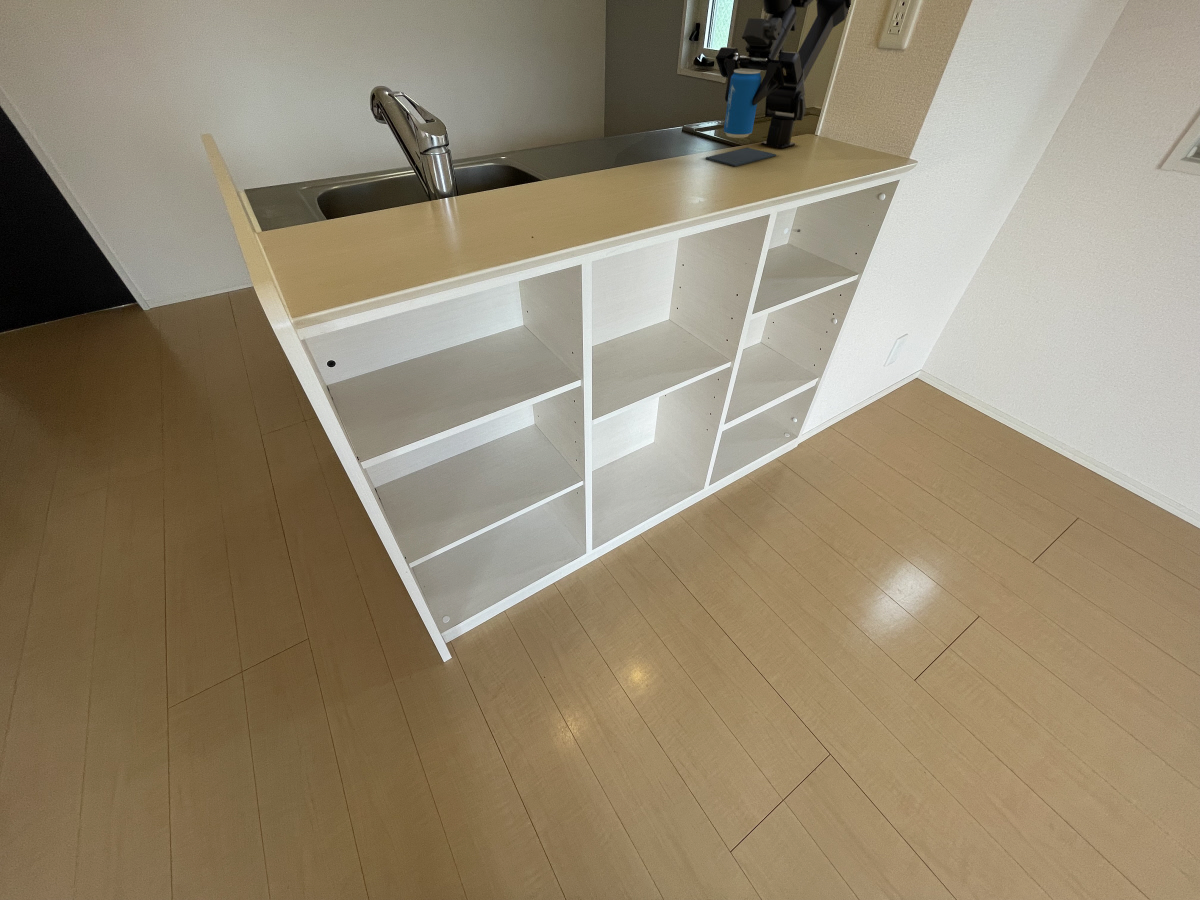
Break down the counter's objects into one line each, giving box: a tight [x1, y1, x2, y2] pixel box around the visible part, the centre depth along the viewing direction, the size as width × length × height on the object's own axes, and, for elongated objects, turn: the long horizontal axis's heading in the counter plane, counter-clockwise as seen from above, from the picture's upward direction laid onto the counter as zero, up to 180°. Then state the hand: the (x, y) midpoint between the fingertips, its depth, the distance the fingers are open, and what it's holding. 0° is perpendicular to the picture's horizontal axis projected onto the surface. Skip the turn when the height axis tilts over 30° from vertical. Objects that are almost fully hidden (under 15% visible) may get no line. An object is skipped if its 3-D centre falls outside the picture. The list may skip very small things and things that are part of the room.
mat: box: [705, 147, 777, 168], centre depth 124 cm, size 16×9×1 cm, turn 130°
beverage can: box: [723, 68, 762, 139], centre depth 112 cm, size 6×6×12 cm
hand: (739, 102), depth 111 cm, fingers closed on beverage can, 6 cm apart
